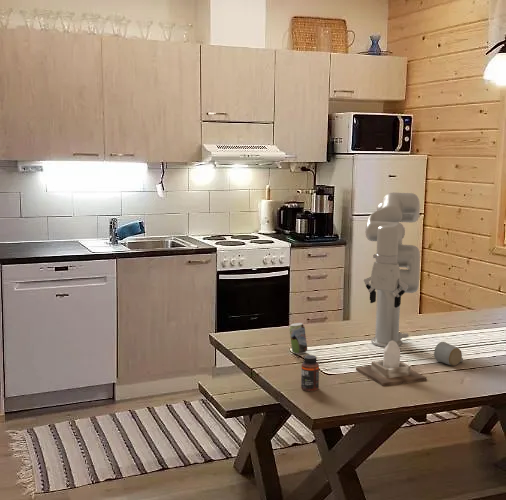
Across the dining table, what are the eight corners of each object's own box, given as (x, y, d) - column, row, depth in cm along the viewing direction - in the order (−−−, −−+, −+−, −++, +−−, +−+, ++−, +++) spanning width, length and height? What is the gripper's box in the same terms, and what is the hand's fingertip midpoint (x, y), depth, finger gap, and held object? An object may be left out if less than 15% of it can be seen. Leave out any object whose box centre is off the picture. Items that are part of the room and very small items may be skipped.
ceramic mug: (449, 368, 259) (451, 348, 258) (432, 362, 266) (434, 342, 265) (468, 364, 265) (469, 344, 264) (451, 358, 272) (452, 339, 271)
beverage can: (306, 356, 271) (307, 326, 269) (287, 354, 273) (288, 325, 271) (308, 351, 277) (309, 322, 276) (290, 350, 279) (290, 321, 277)
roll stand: (397, 364, 262) (397, 354, 262) (426, 379, 246) (426, 369, 245) (355, 370, 255) (356, 359, 255) (382, 385, 239) (383, 374, 238)
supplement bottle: (317, 385, 238) (318, 353, 236) (319, 392, 232) (320, 359, 230) (300, 385, 238) (300, 353, 236) (301, 392, 232) (302, 359, 230)
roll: (396, 337, 252) (403, 341, 247) (395, 369, 254) (402, 374, 248) (381, 338, 250) (388, 342, 245) (380, 370, 252) (386, 375, 247)
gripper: (360, 257, 255) (359, 302, 258) (404, 263, 245) (402, 310, 248) (370, 254, 261) (368, 298, 264) (413, 260, 251) (411, 306, 254)
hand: (384, 304), depth 256 cm, fingers open, 9 cm apart
